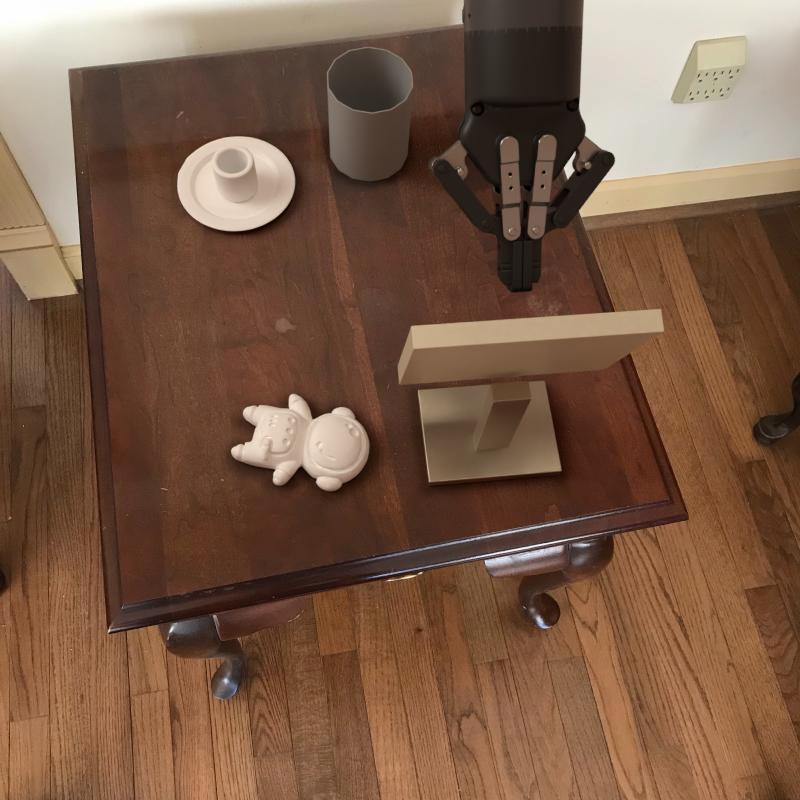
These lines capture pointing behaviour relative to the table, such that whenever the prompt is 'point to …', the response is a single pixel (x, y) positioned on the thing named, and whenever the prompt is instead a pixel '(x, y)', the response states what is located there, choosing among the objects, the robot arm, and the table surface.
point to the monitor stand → (487, 433)
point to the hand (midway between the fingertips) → (518, 289)
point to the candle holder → (236, 183)
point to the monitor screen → (524, 346)
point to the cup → (369, 112)
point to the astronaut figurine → (305, 443)
